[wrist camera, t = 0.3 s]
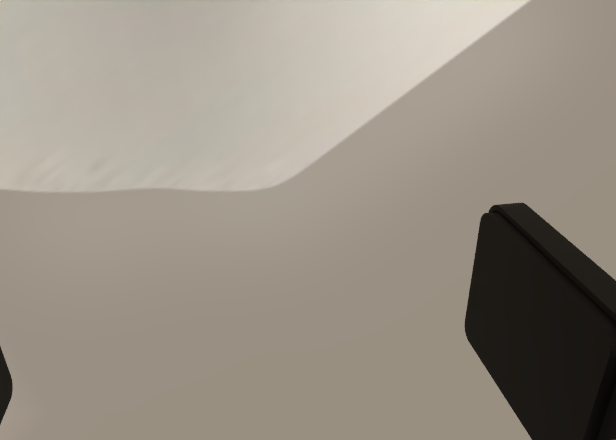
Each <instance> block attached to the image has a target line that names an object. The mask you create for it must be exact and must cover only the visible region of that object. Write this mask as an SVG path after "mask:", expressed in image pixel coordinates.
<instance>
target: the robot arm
mask: <svg viewBox="0 0 616 440" xmlns="http://www.w3.org/2000/svg"><path fill="white" fill-rule="evenodd" d="M465 332H466V336H467V339H468V341H469V342H470V344H471V345H472V347H473V349H474V350H475V352H476V353H477V355H478V356H479V358H480V359H481V361H482V363H483V364H484V366H485V367H486V369H487V370H488V372H489V373H490V375H491V376H492V378H493V379H494V381H495V383H496V384H497V386H498V387H499V389H500V390H501V392H502V394H503V395H504V397H505V398H506V400H507V401H508V403H509V404H510V406H511V407H512V409H513V411H514V412H515V414H516V415H517V417H518V418H519V420H520V422H521V423H522V425H523V426H524V427H525V429H526V431H527V432H528V434H529V435H530V437H531V439H532V440H616V281H615V280H614V279H613V278H612V277H611V276H610V275H608V274H607V273H606V272H605V271H604V270H602V269H601V268H600V267H599V266H598V265H597V264H595V263H594V262H593V261H592V260H591V259H590V258H588V257H587V256H586V255H585V254H584V253H583V252H581V251H580V250H579V249H578V248H577V247H575V246H574V245H573V244H572V243H571V242H570V241H568V240H567V239H566V238H565V237H564V236H563V235H561V234H560V233H559V232H558V231H557V230H555V229H554V228H553V227H552V226H551V225H550V224H548V223H547V222H546V221H545V220H544V219H543V218H541V217H540V216H539V215H538V214H537V213H535V212H534V211H533V210H532V209H531V208H530V207H528V206H527V205H526V204H524V203H513V204H501V205H494V206H492V207H491V208H490V210H489V213H485V214H483V216H482V218H481V221H480V227H479V233H478V240H477V246H476V253H475V259H474V266H473V273H472V279H471V285H470V292H469V298H468V305H467V311H466V319H465ZM11 395H12V379H11V375H10V372H9V370H8V367H7V364H6V361H5V358H4V356H3V353H2V350H1V347H0V424H1V421H2V419H3V416H4V414H5V411H6V409H7V407H8V404H9V402H10V399H11Z"/></svg>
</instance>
